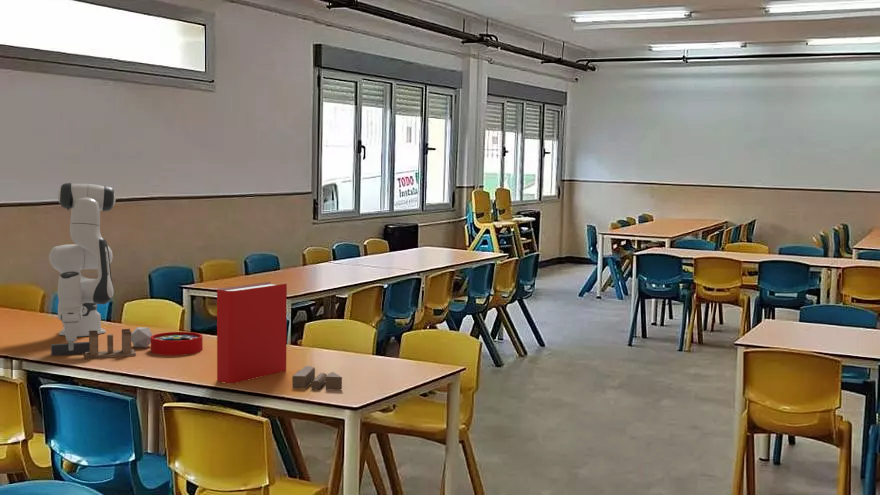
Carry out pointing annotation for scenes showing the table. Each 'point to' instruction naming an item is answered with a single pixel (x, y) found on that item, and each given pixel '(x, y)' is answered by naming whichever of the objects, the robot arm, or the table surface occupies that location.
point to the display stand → (110, 346)
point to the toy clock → (176, 343)
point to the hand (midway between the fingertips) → (70, 349)
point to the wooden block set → (308, 375)
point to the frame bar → (63, 349)
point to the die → (141, 337)
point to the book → (251, 331)
